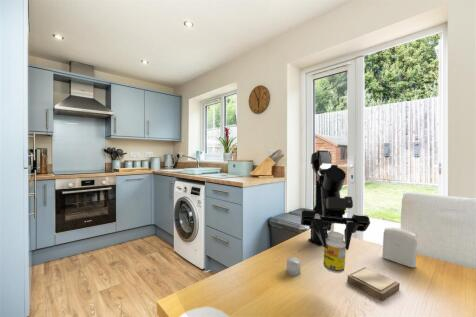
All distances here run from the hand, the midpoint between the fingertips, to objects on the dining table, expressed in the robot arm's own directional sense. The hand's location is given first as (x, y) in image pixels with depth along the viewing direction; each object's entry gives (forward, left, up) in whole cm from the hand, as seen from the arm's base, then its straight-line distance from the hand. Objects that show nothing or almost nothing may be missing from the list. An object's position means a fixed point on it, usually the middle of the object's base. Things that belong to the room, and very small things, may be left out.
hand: (335, 248), depth 62 cm
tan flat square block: (+3, +14, -13) cm, 20 cm away
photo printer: (0, +38, -13) cm, 40 cm away
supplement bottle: (-1, +1, -7) cm, 7 cm away
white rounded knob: (-14, -2, -13) cm, 19 cm away
